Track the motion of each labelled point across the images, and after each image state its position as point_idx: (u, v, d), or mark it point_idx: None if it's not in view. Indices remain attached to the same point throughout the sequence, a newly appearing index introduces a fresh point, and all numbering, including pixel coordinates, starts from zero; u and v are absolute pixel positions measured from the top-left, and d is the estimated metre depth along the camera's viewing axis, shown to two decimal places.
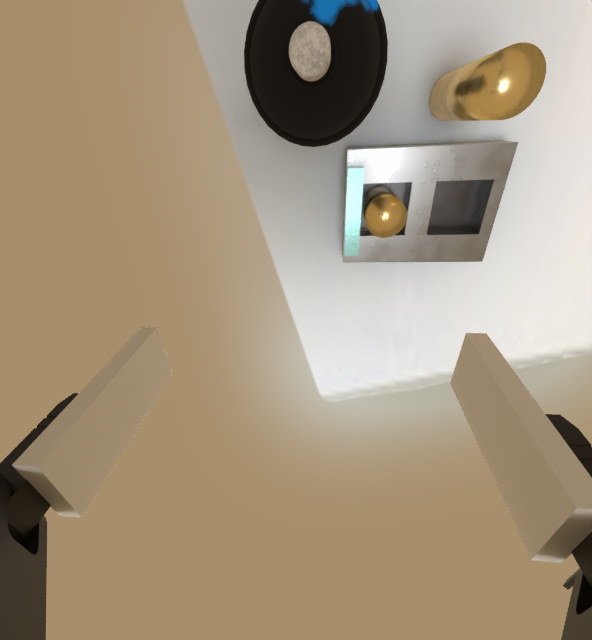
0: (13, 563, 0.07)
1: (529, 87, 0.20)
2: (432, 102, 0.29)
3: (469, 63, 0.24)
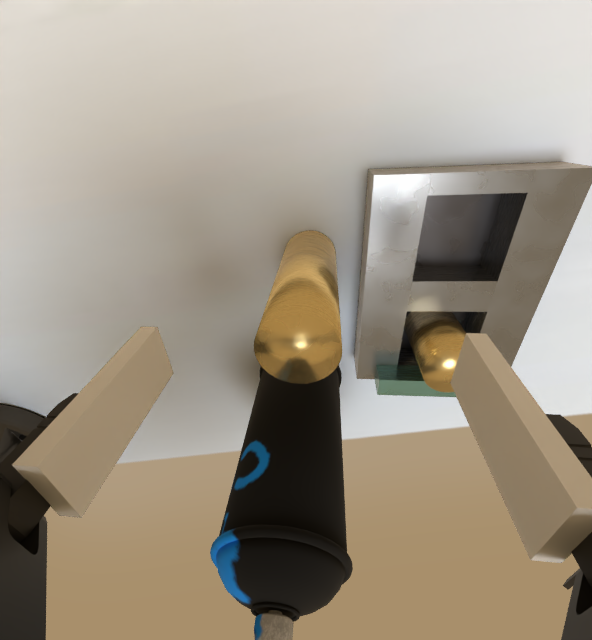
0: (13, 563, 0.07)
1: (302, 328, 0.13)
2: None
3: None
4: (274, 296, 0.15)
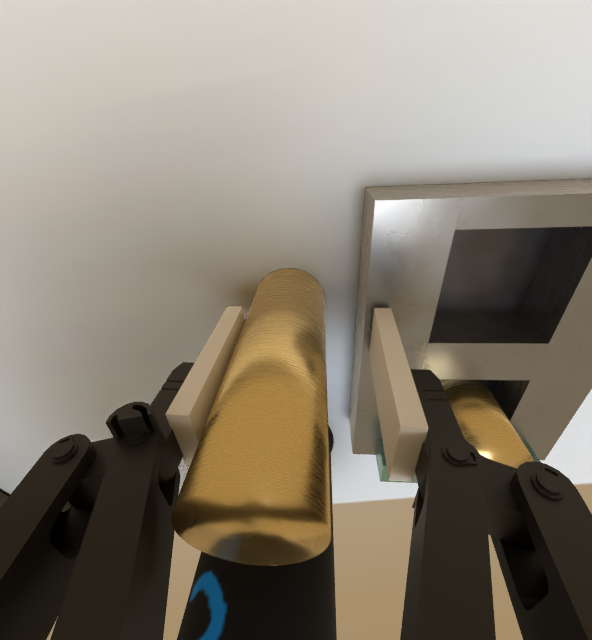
0: (157, 512, 0.08)
1: (256, 508, 0.07)
2: None
3: None
4: (216, 414, 0.09)
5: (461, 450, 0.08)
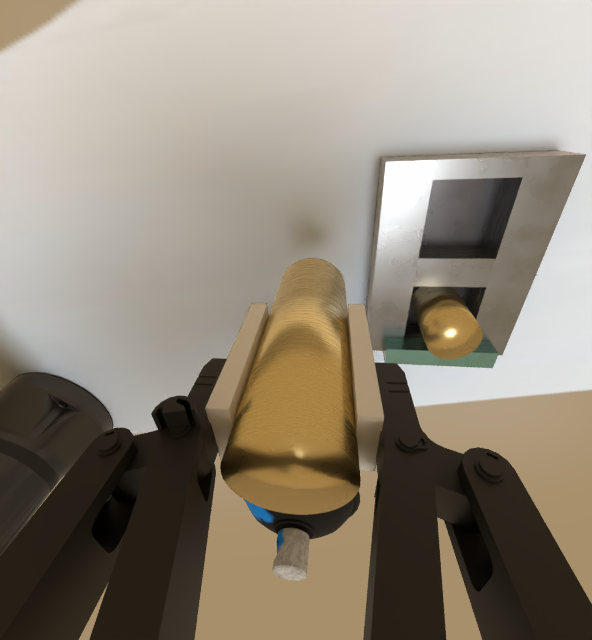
0: (195, 508, 0.08)
1: (298, 453, 0.08)
2: None
3: None
4: (257, 378, 0.10)
5: (412, 437, 0.08)
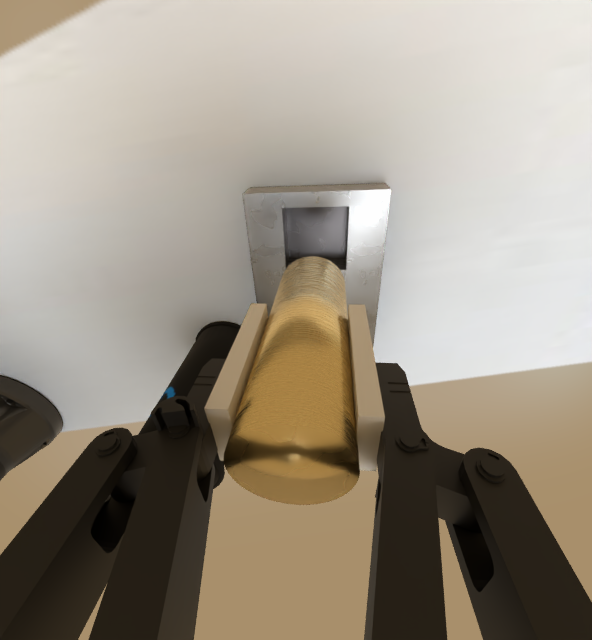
0: (194, 508, 0.08)
1: (299, 443, 0.08)
2: None
3: None
4: (259, 372, 0.10)
5: (413, 437, 0.08)
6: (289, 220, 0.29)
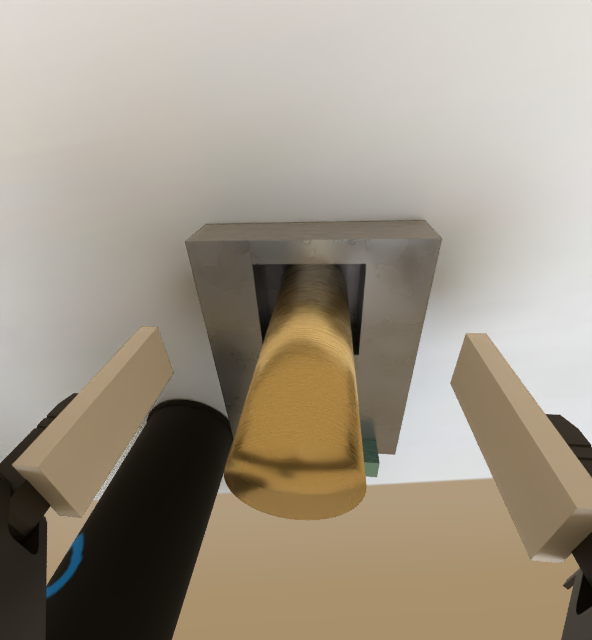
0: (13, 563, 0.07)
1: (303, 460, 0.08)
2: None
3: None
4: (260, 382, 0.10)
5: None
6: (269, 273, 0.18)
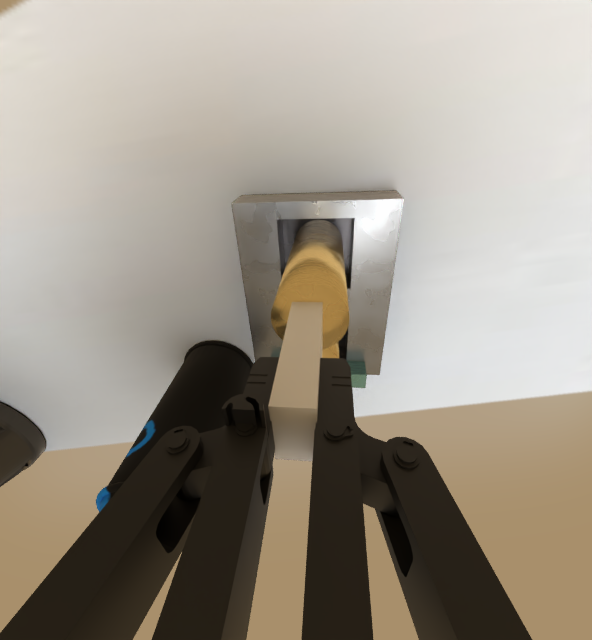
0: (256, 511, 0.08)
1: (315, 298, 0.15)
2: None
3: None
4: (289, 272, 0.17)
5: (339, 426, 0.09)
6: (286, 232, 0.25)
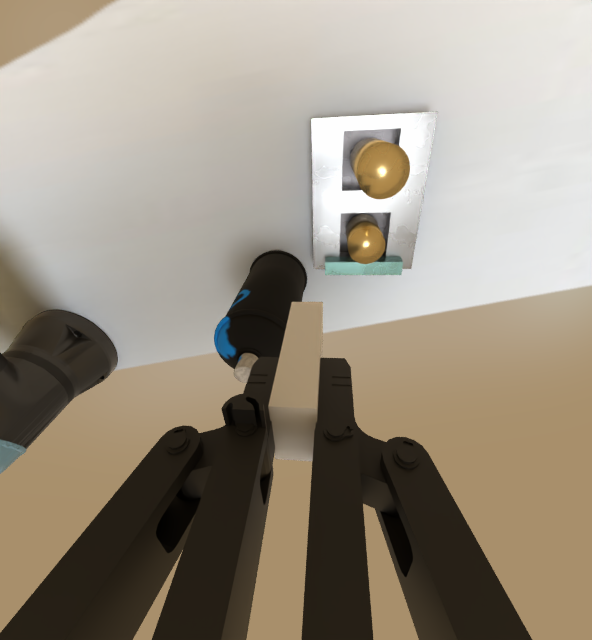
0: (256, 511, 0.08)
1: (389, 154, 0.23)
2: None
3: None
4: (365, 148, 0.25)
5: (339, 426, 0.09)
6: (344, 149, 0.34)
